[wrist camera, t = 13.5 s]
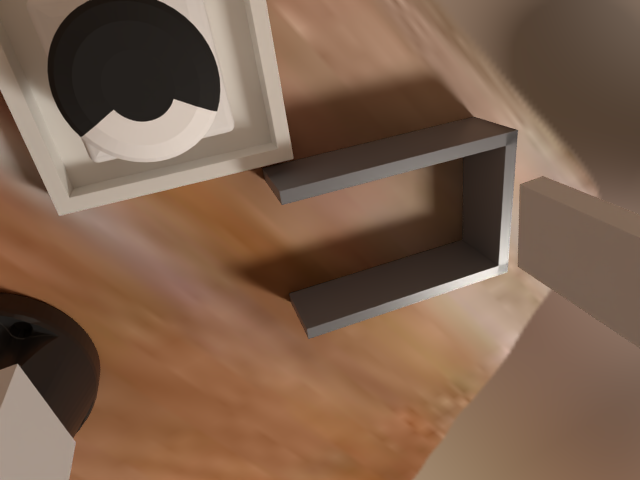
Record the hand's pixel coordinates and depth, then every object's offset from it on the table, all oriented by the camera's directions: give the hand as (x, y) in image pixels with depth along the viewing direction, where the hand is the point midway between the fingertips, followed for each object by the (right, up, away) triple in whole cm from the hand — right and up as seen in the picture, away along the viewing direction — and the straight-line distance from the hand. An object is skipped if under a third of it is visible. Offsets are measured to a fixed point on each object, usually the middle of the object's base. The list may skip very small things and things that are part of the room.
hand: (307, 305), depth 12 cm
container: (-11, +13, +17) cm, 24 cm away
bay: (+6, +4, +28) cm, 29 cm away
